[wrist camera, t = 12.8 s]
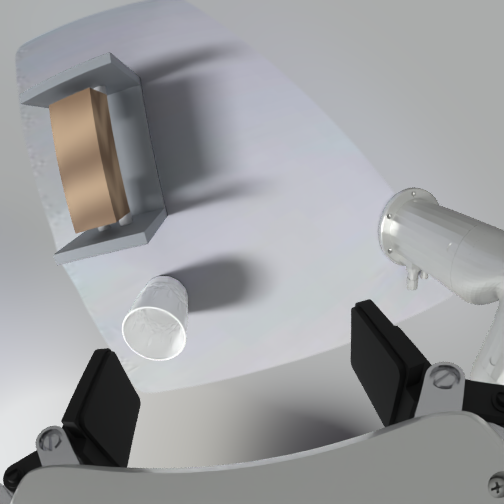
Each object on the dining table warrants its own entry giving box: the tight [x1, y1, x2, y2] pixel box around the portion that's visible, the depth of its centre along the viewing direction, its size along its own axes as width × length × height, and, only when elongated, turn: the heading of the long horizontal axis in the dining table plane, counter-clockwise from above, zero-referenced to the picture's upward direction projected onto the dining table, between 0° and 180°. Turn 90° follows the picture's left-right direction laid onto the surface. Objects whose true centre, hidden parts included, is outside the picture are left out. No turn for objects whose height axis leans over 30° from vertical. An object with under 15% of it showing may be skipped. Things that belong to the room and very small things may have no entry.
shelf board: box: [49, 87, 130, 233], centre depth 27 cm, size 14×5×5 cm, turn 10°
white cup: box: [122, 276, 188, 361], centre depth 38 cm, size 8×8×10 cm
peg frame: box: [20, 52, 167, 265], centre depth 29 cm, size 19×11×12 cm, turn 10°
